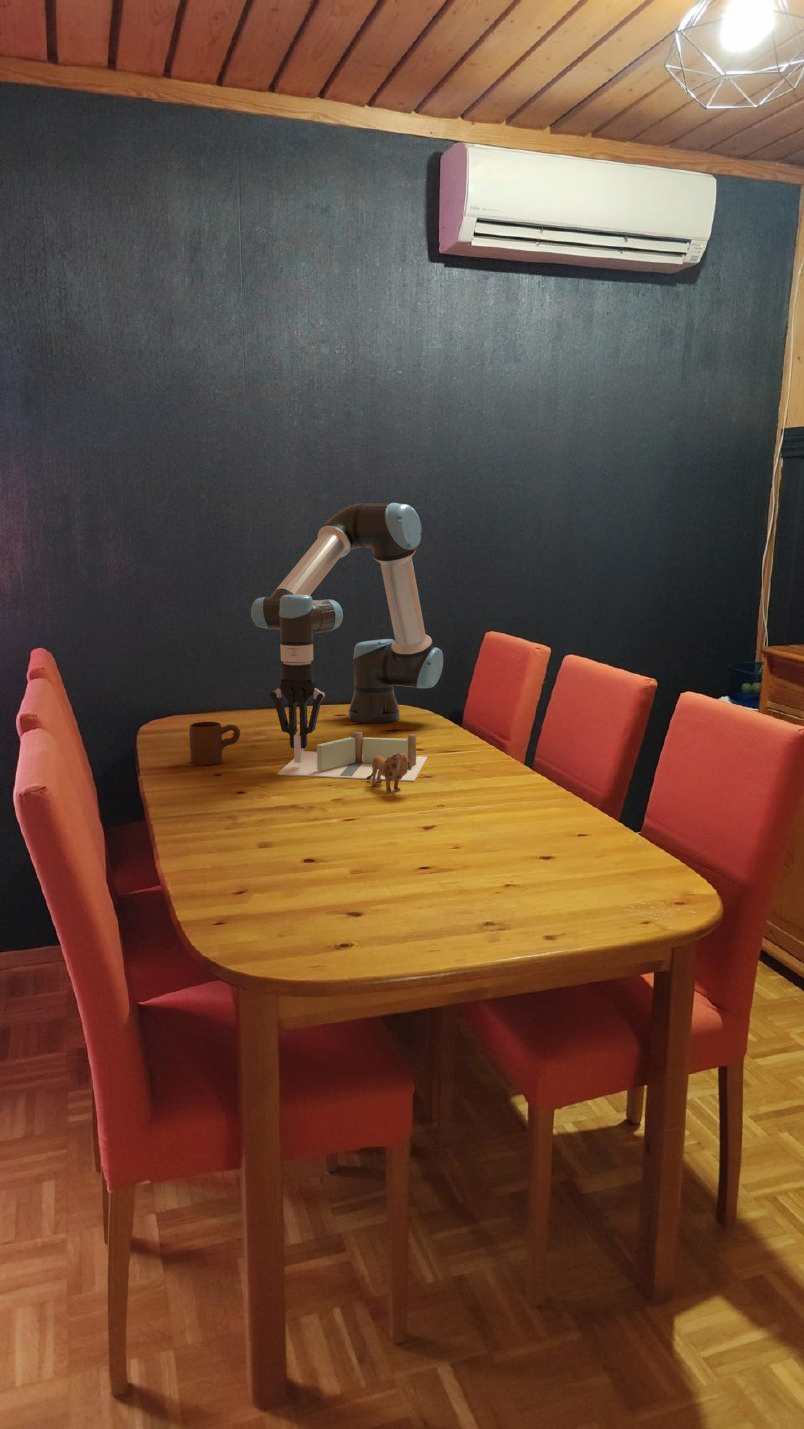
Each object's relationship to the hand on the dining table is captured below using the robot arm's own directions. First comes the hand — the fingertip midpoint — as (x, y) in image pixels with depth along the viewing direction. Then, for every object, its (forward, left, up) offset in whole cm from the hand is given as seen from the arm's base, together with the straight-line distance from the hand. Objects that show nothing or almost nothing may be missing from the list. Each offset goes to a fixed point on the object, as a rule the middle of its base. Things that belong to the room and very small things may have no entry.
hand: (298, 761), depth 226 cm
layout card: (-5, +12, -2) cm, 14 cm away
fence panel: (-2, +9, -1) cm, 9 cm away
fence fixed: (-8, +19, -2) cm, 21 cm away
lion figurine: (+12, +24, -2) cm, 27 cm away
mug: (-3, -22, -2) cm, 22 cm away
